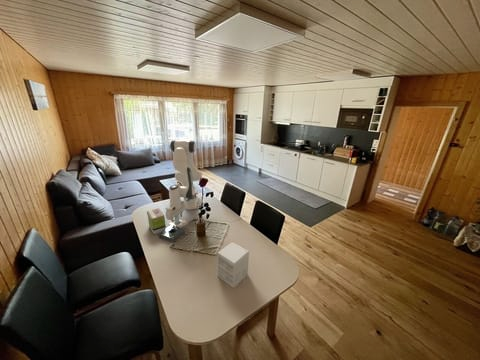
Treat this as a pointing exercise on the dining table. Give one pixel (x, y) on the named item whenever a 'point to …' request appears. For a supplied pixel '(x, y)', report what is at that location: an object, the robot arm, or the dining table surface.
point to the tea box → (156, 220)
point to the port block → (168, 232)
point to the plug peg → (177, 219)
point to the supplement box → (233, 264)
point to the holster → (179, 223)
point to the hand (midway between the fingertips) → (177, 219)
